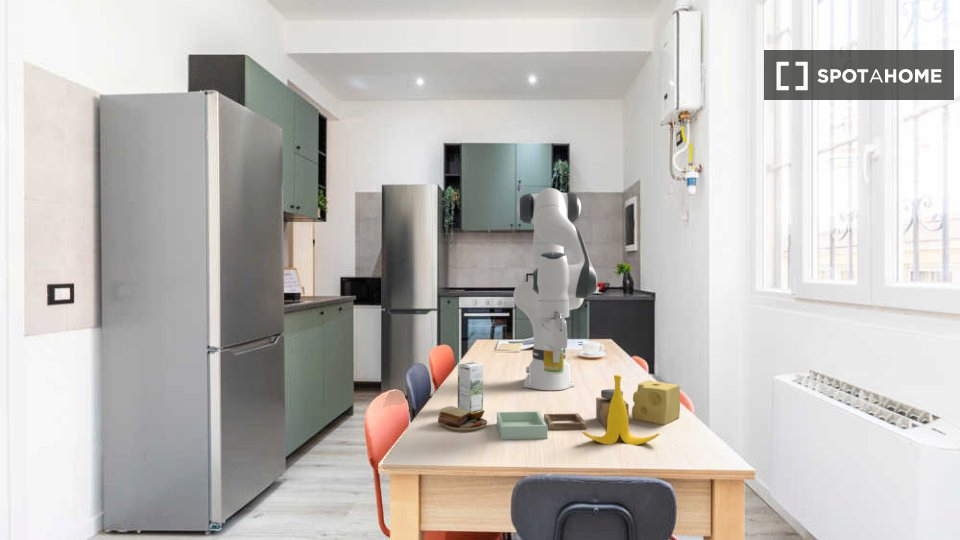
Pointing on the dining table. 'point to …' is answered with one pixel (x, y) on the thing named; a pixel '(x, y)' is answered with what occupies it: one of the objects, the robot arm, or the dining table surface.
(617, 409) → the banana peel
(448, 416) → the toy sandwich meal
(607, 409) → the tan square block
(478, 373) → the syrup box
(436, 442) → the dining table surface
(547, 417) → the brown wooden frame
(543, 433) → the tray
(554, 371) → the supplement bottle
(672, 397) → the cheese
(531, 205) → the robot arm
